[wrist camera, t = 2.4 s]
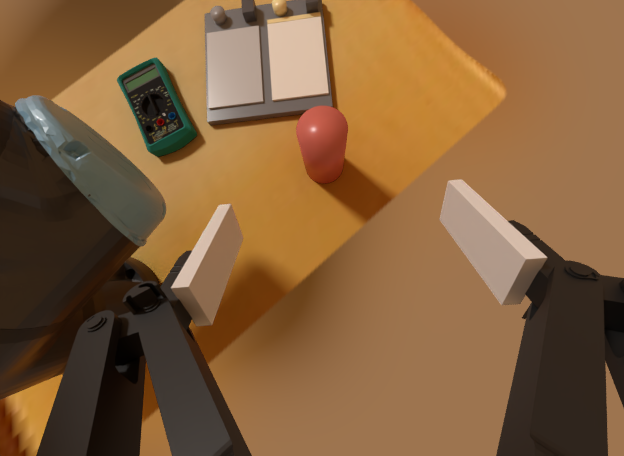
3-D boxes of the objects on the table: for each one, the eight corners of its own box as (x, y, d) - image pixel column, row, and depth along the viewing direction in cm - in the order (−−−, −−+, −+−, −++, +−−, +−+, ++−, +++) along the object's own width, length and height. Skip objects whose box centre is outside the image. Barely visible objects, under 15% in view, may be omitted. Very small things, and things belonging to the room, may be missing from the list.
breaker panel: (210, 125, 39) (201, 115, 36) (207, 19, 42) (199, 3, 39) (332, 110, 38) (332, 99, 35) (321, 2, 40) (320, -16, 38)
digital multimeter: (160, 162, 39) (146, 154, 36) (127, 87, 42) (111, 74, 39) (201, 140, 39) (191, 130, 36) (166, 66, 42) (153, 52, 39)
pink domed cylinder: (307, 185, 36) (298, 156, 27) (304, 149, 37) (294, 108, 27) (345, 181, 36) (350, 150, 26) (341, 145, 37) (345, 102, 27)
